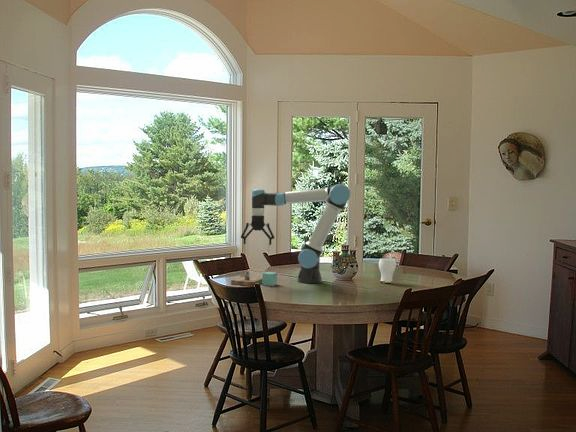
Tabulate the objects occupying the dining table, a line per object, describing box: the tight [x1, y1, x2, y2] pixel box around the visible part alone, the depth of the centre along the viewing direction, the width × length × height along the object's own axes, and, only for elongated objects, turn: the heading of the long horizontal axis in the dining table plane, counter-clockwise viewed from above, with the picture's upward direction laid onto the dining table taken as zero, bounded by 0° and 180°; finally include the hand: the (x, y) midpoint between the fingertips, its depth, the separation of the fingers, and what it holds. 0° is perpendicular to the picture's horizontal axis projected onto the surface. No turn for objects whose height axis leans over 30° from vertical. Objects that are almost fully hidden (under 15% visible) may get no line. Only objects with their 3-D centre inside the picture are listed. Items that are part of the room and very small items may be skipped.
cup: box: [378, 257, 397, 282], centre depth 391 cm, size 11×11×15 cm
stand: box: [230, 270, 262, 287], centre depth 371 cm, size 14×14×8 cm
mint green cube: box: [261, 271, 278, 287], centre depth 370 cm, size 7×7×7 cm
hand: (257, 250), depth 376 cm, fingers open, 13 cm apart
